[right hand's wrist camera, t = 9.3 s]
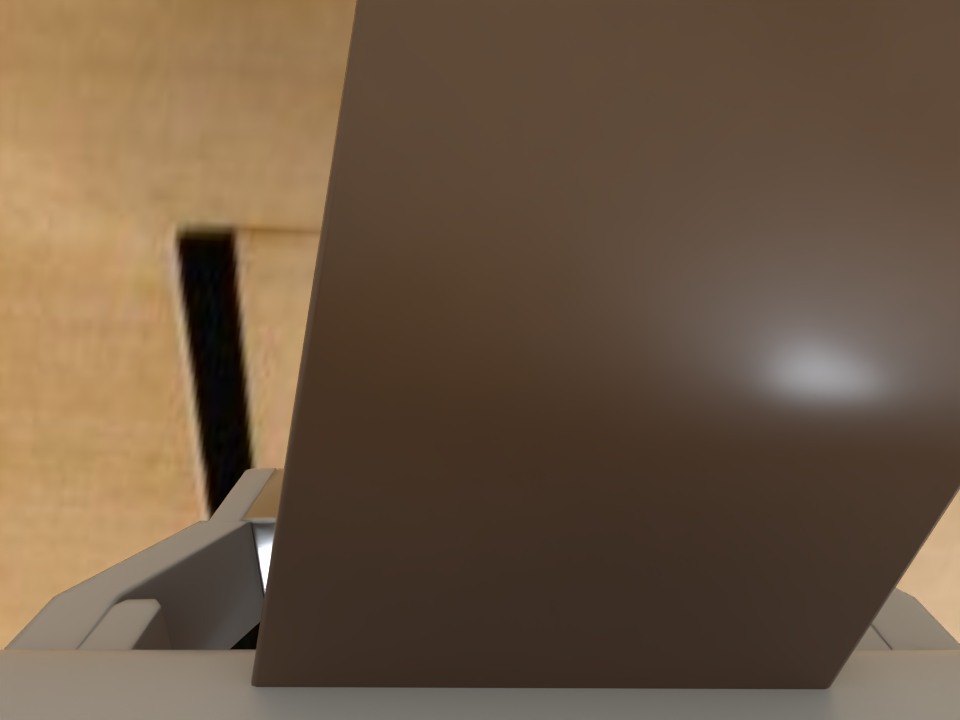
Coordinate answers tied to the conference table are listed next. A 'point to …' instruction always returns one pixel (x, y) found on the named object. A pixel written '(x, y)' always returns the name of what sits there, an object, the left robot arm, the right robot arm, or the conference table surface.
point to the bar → (622, 345)
